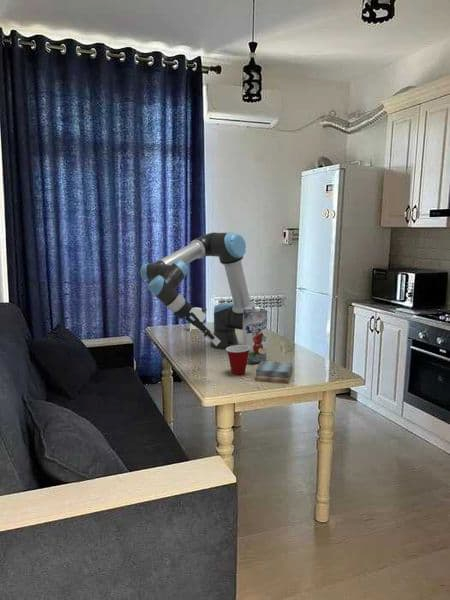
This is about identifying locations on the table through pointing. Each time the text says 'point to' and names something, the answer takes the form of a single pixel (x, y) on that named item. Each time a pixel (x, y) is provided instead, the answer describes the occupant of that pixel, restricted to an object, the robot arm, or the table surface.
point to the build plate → (274, 372)
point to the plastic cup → (238, 358)
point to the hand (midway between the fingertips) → (214, 339)
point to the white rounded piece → (198, 315)
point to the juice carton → (255, 334)
